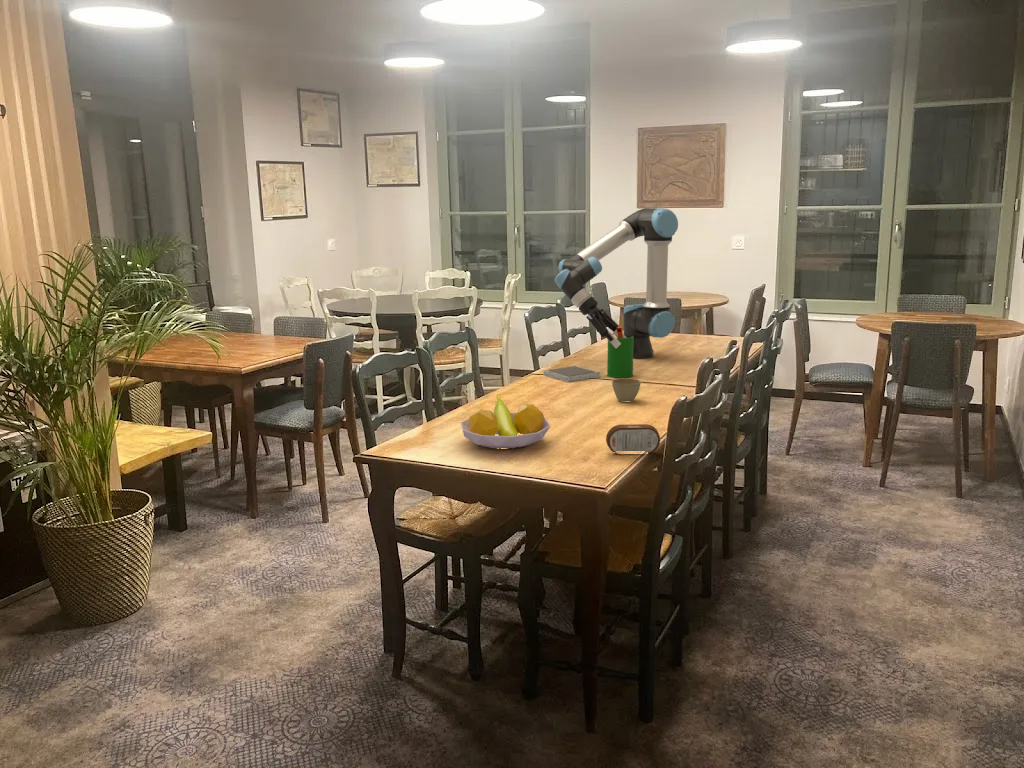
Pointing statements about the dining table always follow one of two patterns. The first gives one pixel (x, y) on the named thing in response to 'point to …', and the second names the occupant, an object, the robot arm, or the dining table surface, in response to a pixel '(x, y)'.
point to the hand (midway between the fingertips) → (622, 344)
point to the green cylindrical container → (620, 357)
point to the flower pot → (626, 388)
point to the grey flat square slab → (571, 373)
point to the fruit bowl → (506, 426)
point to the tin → (633, 438)
